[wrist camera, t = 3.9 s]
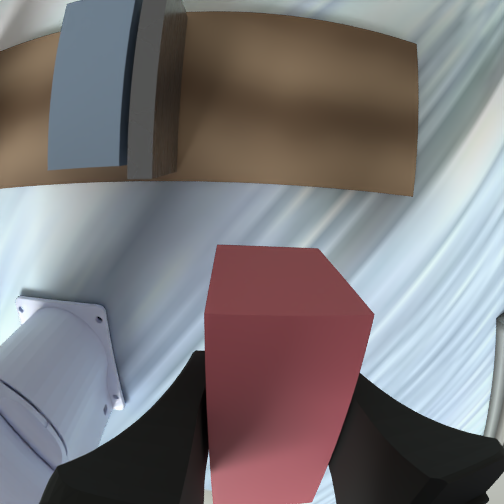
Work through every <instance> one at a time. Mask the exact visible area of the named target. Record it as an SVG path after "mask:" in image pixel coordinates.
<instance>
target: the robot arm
mask: <svg viewBox="0 0 504 504" xmlns="http://www.w3.org/2000/svg"><path fill="white" fill-rule="evenodd" d="M15 303H16V307H17V312H18V315H19V319H20V323H21V326H20V327H19V328H18V329H17V330H16V331H15V332H14V333H13V334H12V335H11V336H10V337H9V338H8V339H7V340H6V341H5V342H4V343H3V344H2V345H1V346H0V504H204V481H205V471H206V464H207V458H208V452H209V440H208V421H207V400H206V372H205V351H197V350H196V351H195V352H193V354H192V355H191V357H190V359H189V361H188V362H187V364H186V366H185V367H184V369H183V370H182V371H181V373H180V374H179V376H178V377H177V378H176V380H175V381H174V382H173V384H172V385H171V386H170V387H169V389H168V390H167V391H166V392H165V393H164V394H163V395H162V397H161V398H160V399H159V400H158V401H157V402H156V403H155V404H154V405H153V406H152V407H151V408H150V409H149V410H148V411H147V412H146V413H145V414H144V415H143V416H142V417H141V418H139V419H138V420H137V421H136V422H135V423H133V424H132V425H131V426H130V427H128V428H127V429H126V430H124V431H123V432H122V433H120V434H119V435H118V436H116V437H115V438H113V439H111V440H110V441H108V442H106V443H105V444H103V445H101V446H100V447H98V445H99V442H100V440H101V437H102V435H103V432H104V429H105V427H106V424H107V422H108V419H109V417H110V414H111V412H112V410H113V409H117V410H123V409H124V407H125V402H124V398H123V394H122V390H121V386H120V382H119V377H118V373H117V368H116V364H115V359H114V354H113V349H112V344H111V338H110V333H109V327H108V321H107V315H106V310H105V308H104V307H103V306H101V305H99V304H89V303H78V302H69V301H60V300H51V299H42V298H34V297H26V296H18V297H17V298H16V299H15ZM21 307H22V308H23V309H22V308H21ZM98 317H100V318H101V319H102V321H101V320H99V319H98ZM116 395H117V396H116ZM97 447H98V448H97ZM328 465H329V469H330V472H331V476H332V481H333V486H334V492H335V497H336V504H486V503H487V502H488V501H489V498H488V496H487V494H486V491H487V490H488V489H489V488H490V487H491V486H492V485H493V484H494V482H495V481H496V480H497V479H498V478H499V477H500V476H501V474H502V473H503V472H504V448H503V446H502V445H501V443H500V442H499V441H498V439H496V438H491V437H486V436H481V435H476V434H471V433H468V432H464V431H461V430H458V429H455V428H452V427H449V426H446V425H443V424H441V423H438V422H436V421H434V420H432V419H429V418H427V417H425V416H423V415H421V414H419V413H417V412H415V411H413V410H412V409H410V408H408V407H406V406H405V405H403V404H401V403H400V402H398V401H396V400H395V399H393V398H392V397H390V396H389V395H388V394H386V393H385V392H383V391H382V390H381V389H379V388H378V387H377V386H375V385H374V384H373V383H372V382H370V381H369V380H368V379H367V378H365V377H364V376H363V375H362V374H361V373H359V376H358V379H357V383H356V386H355V389H354V393H353V396H352V399H351V402H350V405H349V408H348V411H347V414H346V417H345V420H344V423H343V426H342V429H341V432H340V434H339V437H338V440H337V443H336V445H335V448H334V450H333V453H332V456H331V458H330V461H329V463H328Z"/></svg>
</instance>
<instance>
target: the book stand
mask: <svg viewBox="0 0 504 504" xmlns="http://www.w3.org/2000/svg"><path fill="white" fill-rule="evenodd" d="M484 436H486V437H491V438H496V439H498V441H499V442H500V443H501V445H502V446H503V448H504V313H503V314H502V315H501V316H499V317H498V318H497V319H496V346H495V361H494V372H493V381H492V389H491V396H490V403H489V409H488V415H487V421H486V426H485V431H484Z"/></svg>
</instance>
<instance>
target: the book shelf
mask: <svg viewBox="0 0 504 504" xmlns="http://www.w3.org/2000/svg"><path fill="white" fill-rule="evenodd" d="M186 14H187V17H188V20H187V29H186V38H185V48H184V58H183V69H182V81H181V95H180V110H179V129H178V153H177V172H175V173H171V174H168V175H164V176H160V177H157V178H153V179H127V165H124V166H108V167H89V168H73V169H60V170H48V130H49V113H50V101H51V91H52V82H53V74H54V67H55V60H56V54H57V48H58V43H59V38H60V33H61V32H57V33H53V34H50V35H46V36H43V37H40V38H37V39H34V40H30V41H27V42H25V43H22V44H19V45H16V46H13V47H11V48H8V49H5V50H3V51H0V189H2V188H12V187H24V186H37V185H51V184H68V183H90V182H121V181H208V182H241V183H263V184H282V185H298V186H312V187H325V188H337V189H348V190H358V191H368V192H378V193H387V194H395V195H403V196H411V197H413V191H414V181H415V170H416V156H417V139H418V60H417V44H415V43H412V42H409V41H405V40H402V39H399V38H396V37H392V36H389V35H385V34H382V33H378V32H374V31H370V30H366V29H362V28H358V27H353V26H349V25H344V24H339V23H334V22H328V21H323V20H316V19H310V18H303V17H296V16H287V15H278V14H266V13H252V12H219V11H213V12H186Z"/></svg>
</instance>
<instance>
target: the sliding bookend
mask: <svg viewBox="0 0 504 504" xmlns="http://www.w3.org/2000/svg"><path fill="white" fill-rule="evenodd" d="M187 20H188V17H187V14H186V11H185V8H184V5H183V3H182V0H143V3H142V9H141V14H140V20H139V27H138V33H137V40H136V48H135V56H134V64H133V74H132V84H131V96H130V109H129V127H128V154H127V179H153V178H157V177H160V176H164V175H168V174H171V173H175V172H177V153H178V129H179V110H180V95H181V81H182V69H183V58H184V48H185V38H186V29H187Z"/></svg>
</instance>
